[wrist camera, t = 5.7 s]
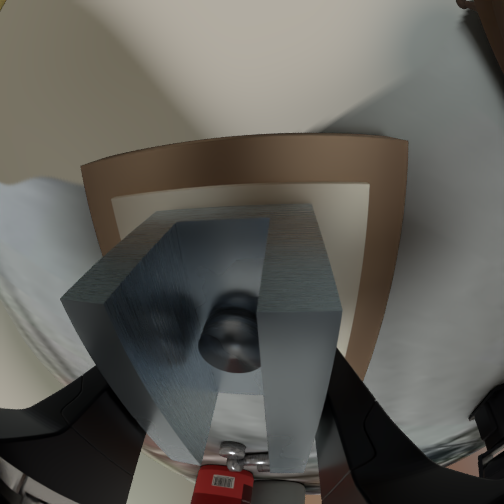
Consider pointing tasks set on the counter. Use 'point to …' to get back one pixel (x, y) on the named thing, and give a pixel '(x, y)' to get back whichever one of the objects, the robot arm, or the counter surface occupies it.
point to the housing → (215, 323)
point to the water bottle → (277, 492)
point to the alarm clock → (490, 23)
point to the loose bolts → (243, 457)
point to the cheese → (2, 3)
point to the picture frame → (277, 192)
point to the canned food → (222, 486)
